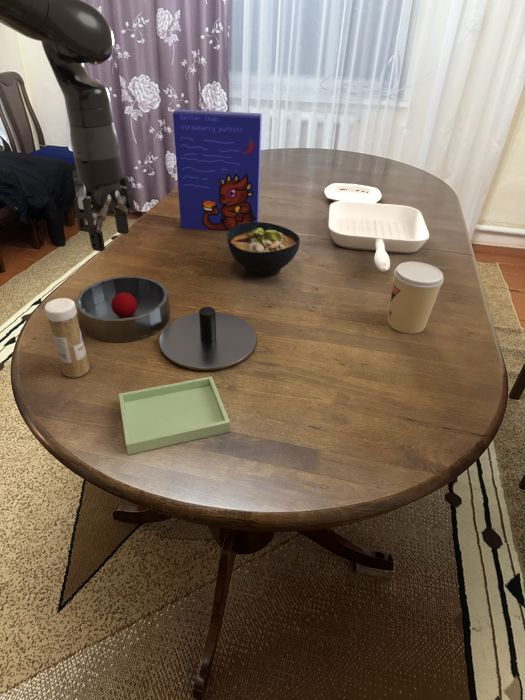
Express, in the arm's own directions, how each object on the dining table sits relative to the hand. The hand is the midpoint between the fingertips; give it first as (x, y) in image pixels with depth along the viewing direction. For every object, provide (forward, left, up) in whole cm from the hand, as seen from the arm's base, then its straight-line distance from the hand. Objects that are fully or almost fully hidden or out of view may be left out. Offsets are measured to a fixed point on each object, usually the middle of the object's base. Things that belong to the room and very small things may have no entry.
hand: (111, 241), depth 89 cm
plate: (+81, +51, -15) cm, 97 cm away
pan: (+69, +14, -15) cm, 72 cm away
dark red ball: (0, -4, -12) cm, 13 cm away
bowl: (+34, +9, -15) cm, 39 cm away
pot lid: (+14, -17, -14) cm, 26 cm away
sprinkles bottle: (-10, -19, -15) cm, 26 cm away
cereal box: (+31, +38, -15) cm, 52 cm away
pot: (0, -4, -15) cm, 16 cm away
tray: (+4, -35, -15) cm, 38 cm away
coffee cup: (+55, -22, -15) cm, 61 cm away
